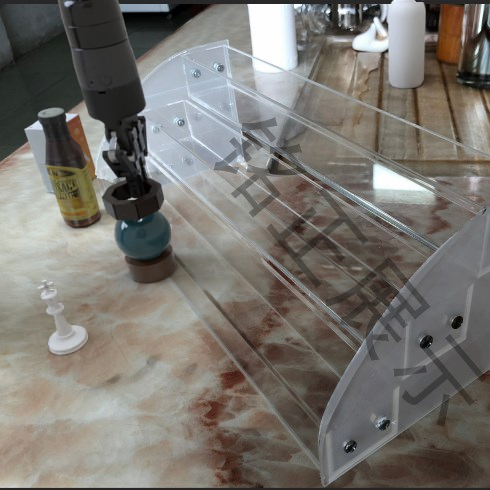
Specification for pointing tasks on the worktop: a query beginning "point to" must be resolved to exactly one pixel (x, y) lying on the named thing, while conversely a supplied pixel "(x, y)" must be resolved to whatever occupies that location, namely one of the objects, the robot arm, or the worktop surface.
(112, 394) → the worktop surface
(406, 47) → the white plastic bottle
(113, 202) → the walnut ring
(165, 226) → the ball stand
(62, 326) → the chess piece
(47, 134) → the sauce bottle
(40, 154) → the small box
